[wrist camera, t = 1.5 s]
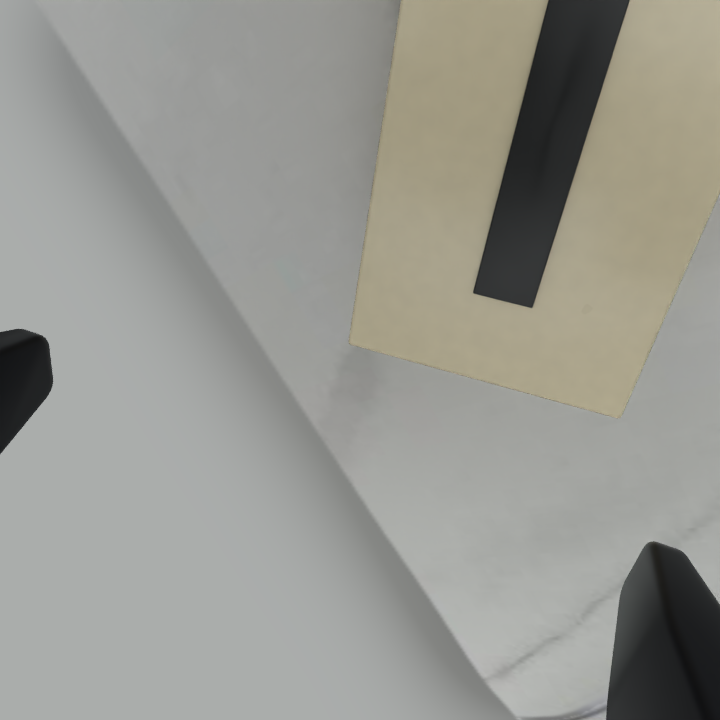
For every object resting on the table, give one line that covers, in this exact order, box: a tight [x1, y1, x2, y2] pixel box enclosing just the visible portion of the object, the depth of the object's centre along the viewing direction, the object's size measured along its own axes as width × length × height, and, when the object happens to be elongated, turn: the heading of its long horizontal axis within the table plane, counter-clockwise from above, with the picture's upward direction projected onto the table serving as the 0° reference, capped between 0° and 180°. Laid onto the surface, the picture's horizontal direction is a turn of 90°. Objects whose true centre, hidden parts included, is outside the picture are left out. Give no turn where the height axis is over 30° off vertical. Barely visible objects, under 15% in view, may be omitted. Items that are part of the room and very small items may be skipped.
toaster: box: [349, 0, 720, 418], centre depth 14 cm, size 6×11×7 cm, turn 172°
